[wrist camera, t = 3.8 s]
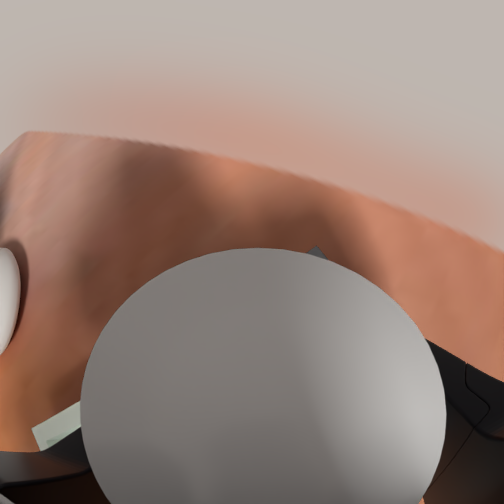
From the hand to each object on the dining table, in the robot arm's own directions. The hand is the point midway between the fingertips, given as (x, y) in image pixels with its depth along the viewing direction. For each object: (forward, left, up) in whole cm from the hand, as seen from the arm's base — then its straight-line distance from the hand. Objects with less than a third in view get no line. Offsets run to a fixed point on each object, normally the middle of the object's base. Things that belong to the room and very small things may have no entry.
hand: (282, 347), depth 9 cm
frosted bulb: (-1, +1, -7) cm, 7 cm away
